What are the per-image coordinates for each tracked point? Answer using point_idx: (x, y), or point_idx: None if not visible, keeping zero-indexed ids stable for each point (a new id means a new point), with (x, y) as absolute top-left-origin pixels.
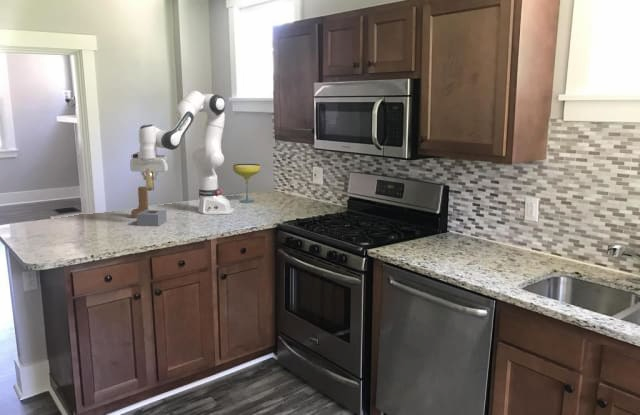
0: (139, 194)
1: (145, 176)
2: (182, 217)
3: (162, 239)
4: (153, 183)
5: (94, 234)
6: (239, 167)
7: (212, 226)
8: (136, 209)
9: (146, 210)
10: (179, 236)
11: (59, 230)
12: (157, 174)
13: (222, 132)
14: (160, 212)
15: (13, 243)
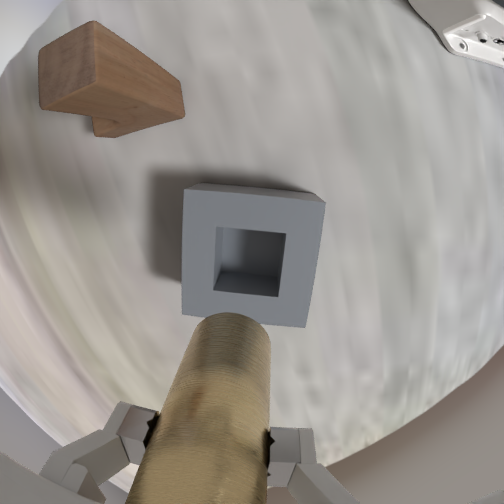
0: (81, 112)
1: (131, 448)
2: (373, 99)
3: (345, 437)
4: (269, 400)
5: (118, 392)
6: None
7: (495, 284)
8: (113, 126)
9: (199, 214)
10: (392, 410)
11: (15, 335)
12: (344, 493)
13: None
14: (307, 271)
15: (32, 418)
